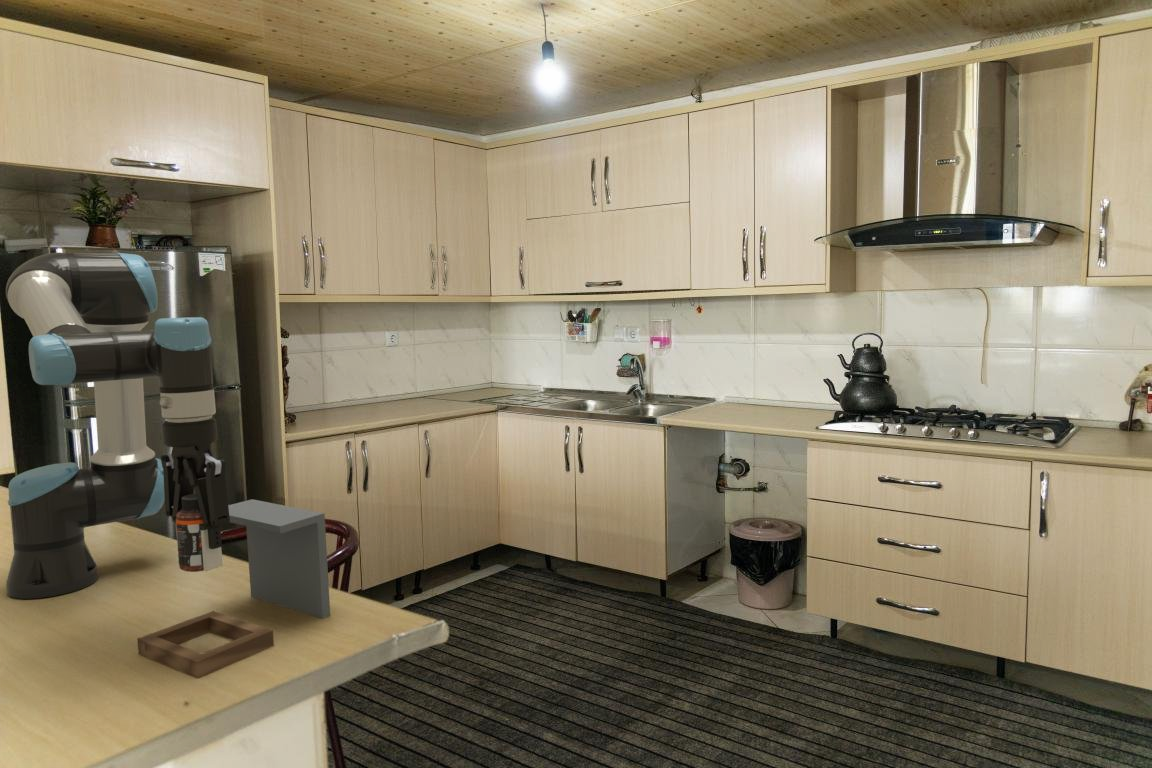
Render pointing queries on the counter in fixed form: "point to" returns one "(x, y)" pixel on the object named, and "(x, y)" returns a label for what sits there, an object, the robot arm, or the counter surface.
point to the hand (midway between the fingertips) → (200, 564)
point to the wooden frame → (196, 664)
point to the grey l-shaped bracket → (286, 555)
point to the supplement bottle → (189, 535)
